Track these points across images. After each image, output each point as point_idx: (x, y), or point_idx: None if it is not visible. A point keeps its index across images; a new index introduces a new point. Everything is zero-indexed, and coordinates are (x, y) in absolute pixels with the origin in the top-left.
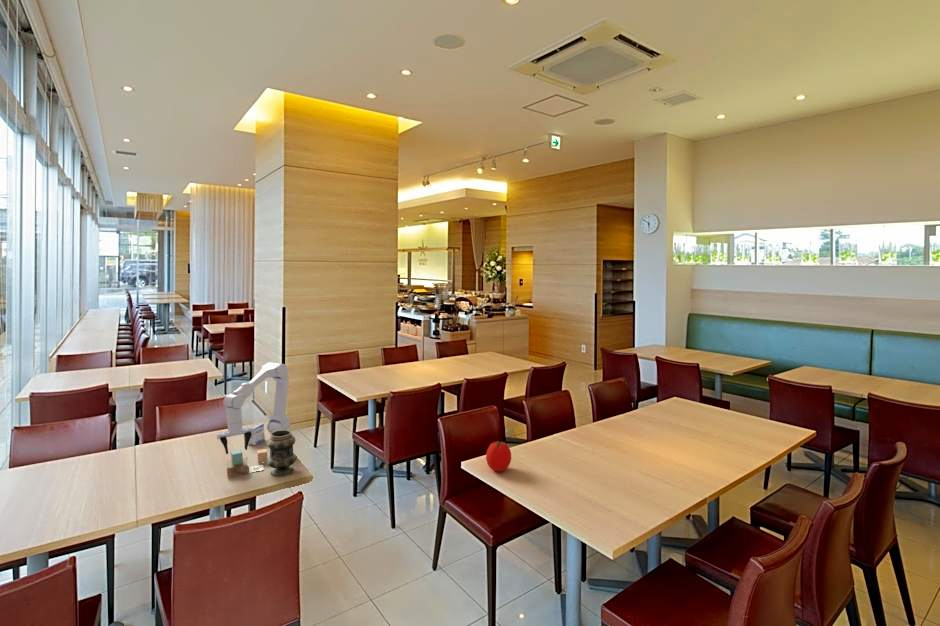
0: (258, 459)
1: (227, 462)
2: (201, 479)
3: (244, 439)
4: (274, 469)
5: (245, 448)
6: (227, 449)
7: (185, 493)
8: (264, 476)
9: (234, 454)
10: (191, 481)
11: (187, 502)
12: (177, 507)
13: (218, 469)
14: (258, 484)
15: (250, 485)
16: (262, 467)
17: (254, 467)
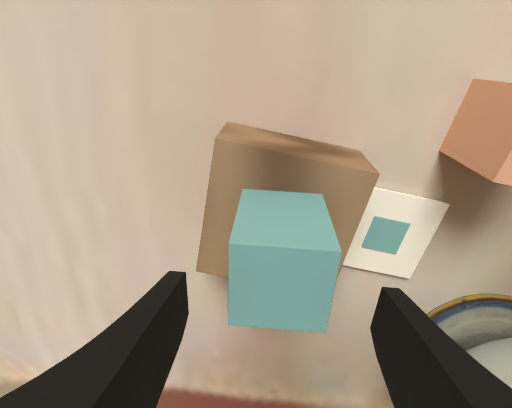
0: (460, 162)
1: (212, 171)
2: (65, 176)
3: (451, 384)
4: (450, 334)
5: (376, 342)
6: (166, 370)
7: (14, 288)
8: None
9: (249, 322)
10: (9, 169)
11: (42, 360)
12: (13, 372)
13: (166, 72)
14: (320, 380)
15: (288, 371)
16: (423, 240)
17: (384, 212)
